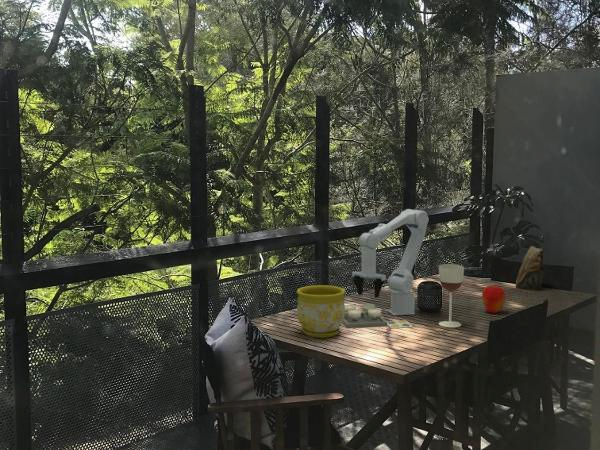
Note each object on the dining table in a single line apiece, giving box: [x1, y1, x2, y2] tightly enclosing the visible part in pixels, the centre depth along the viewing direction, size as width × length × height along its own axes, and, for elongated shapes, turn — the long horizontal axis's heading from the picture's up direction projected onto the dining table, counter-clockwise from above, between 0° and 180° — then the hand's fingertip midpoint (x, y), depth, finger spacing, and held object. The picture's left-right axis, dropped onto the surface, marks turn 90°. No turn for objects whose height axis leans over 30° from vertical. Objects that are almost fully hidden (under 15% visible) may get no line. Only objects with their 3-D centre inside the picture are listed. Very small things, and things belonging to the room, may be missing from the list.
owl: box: [515, 245, 545, 292], centre depth 311 cm, size 13×13×20 cm
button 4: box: [368, 308, 382, 319], centre depth 250 cm, size 5×5×4 cm
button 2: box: [348, 309, 362, 320], centre depth 249 cm, size 5×5×4 cm
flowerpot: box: [296, 284, 346, 339], centre depth 238 cm, size 18×18×16 cm
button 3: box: [362, 303, 376, 314], centre depth 258 cm, size 5×5×4 cm
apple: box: [481, 285, 506, 314], centre depth 267 cm, size 9×9×12 cm
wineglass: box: [438, 263, 465, 328], centre depth 248 cm, size 9×10×23 cm
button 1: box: [344, 304, 357, 313], centre depth 257 cm, size 5×5×4 cm
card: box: [385, 320, 414, 329], centre depth 249 cm, size 9×9×1 cm
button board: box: [342, 311, 388, 329], centre depth 254 cm, size 16×16×2 cm
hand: (368, 295), depth 258 cm, fingers open, 7 cm apart
